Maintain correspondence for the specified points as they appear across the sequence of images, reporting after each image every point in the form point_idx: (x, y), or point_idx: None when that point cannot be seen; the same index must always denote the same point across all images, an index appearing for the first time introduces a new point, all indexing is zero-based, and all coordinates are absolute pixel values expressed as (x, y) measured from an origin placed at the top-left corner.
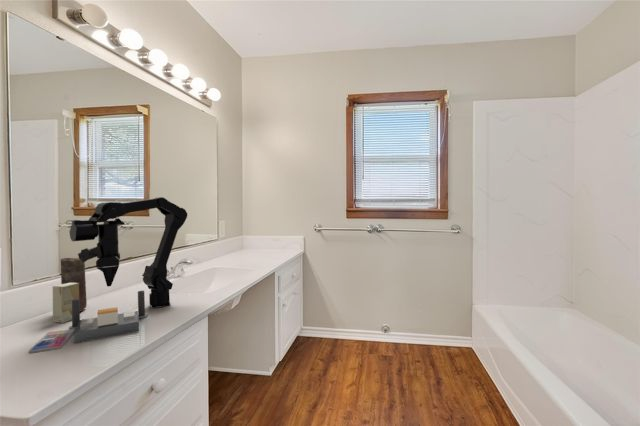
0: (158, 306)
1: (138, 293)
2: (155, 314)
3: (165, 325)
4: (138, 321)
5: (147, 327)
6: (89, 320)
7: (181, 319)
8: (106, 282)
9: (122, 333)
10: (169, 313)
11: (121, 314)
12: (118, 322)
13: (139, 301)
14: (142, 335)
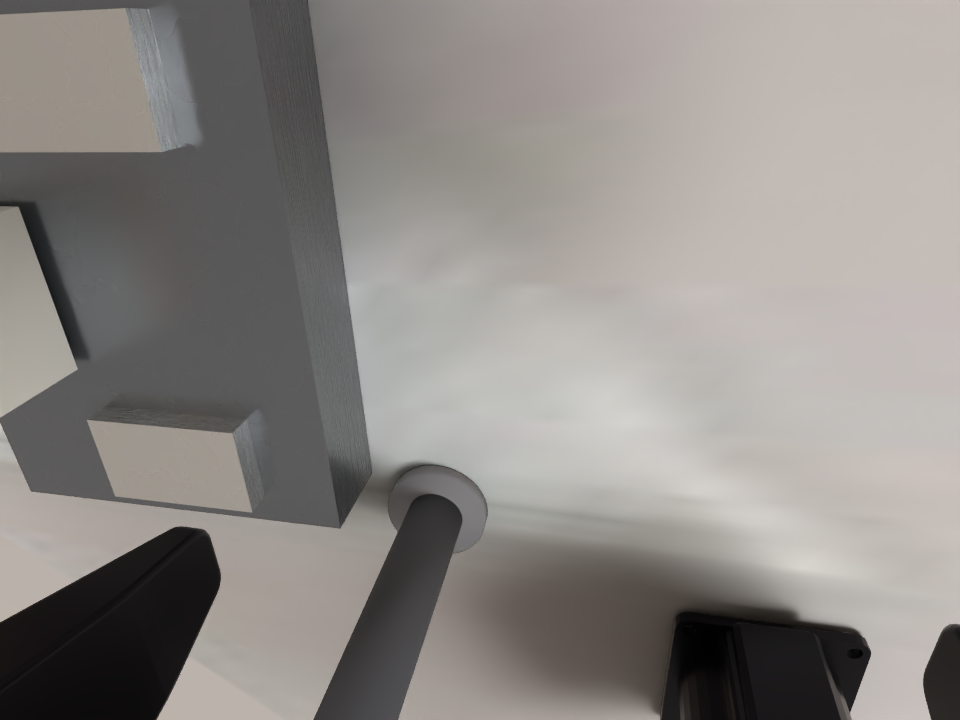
0: (668, 657)
1: (326, 700)
2: (457, 589)
3: None
4: (30, 489)
5: None
6: (60, 111)
7: (244, 667)
8: (69, 593)
9: None
10: (424, 657)
11: (286, 402)
12: None
13: (360, 616)
14: (9, 449)
